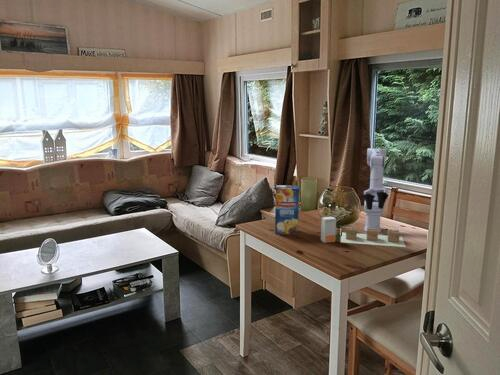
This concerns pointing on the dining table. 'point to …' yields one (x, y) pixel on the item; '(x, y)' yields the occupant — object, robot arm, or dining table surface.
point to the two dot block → (351, 233)
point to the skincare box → (328, 229)
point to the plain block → (372, 234)
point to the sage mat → (381, 241)
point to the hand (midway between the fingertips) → (375, 209)
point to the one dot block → (393, 235)
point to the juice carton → (286, 209)
